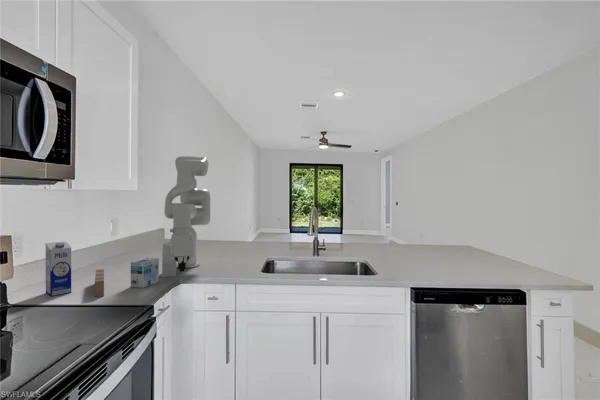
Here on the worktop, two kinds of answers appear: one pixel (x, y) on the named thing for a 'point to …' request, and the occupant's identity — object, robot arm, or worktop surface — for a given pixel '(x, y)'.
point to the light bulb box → (144, 272)
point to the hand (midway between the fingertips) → (181, 271)
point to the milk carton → (58, 268)
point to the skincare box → (168, 262)
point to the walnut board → (99, 283)
